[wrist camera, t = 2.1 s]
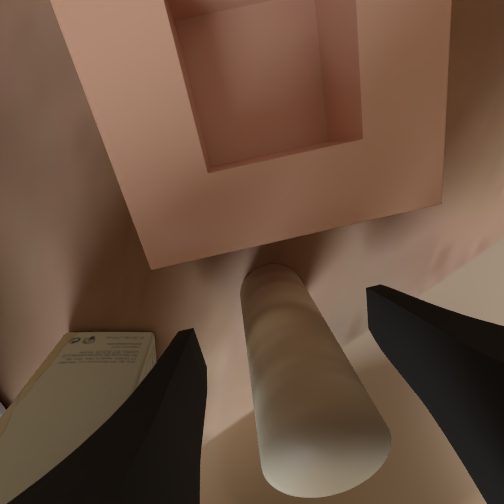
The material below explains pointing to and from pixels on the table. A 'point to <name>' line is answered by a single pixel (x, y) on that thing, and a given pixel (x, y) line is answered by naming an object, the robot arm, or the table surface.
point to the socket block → (263, 113)
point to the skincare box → (69, 402)
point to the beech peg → (306, 392)
